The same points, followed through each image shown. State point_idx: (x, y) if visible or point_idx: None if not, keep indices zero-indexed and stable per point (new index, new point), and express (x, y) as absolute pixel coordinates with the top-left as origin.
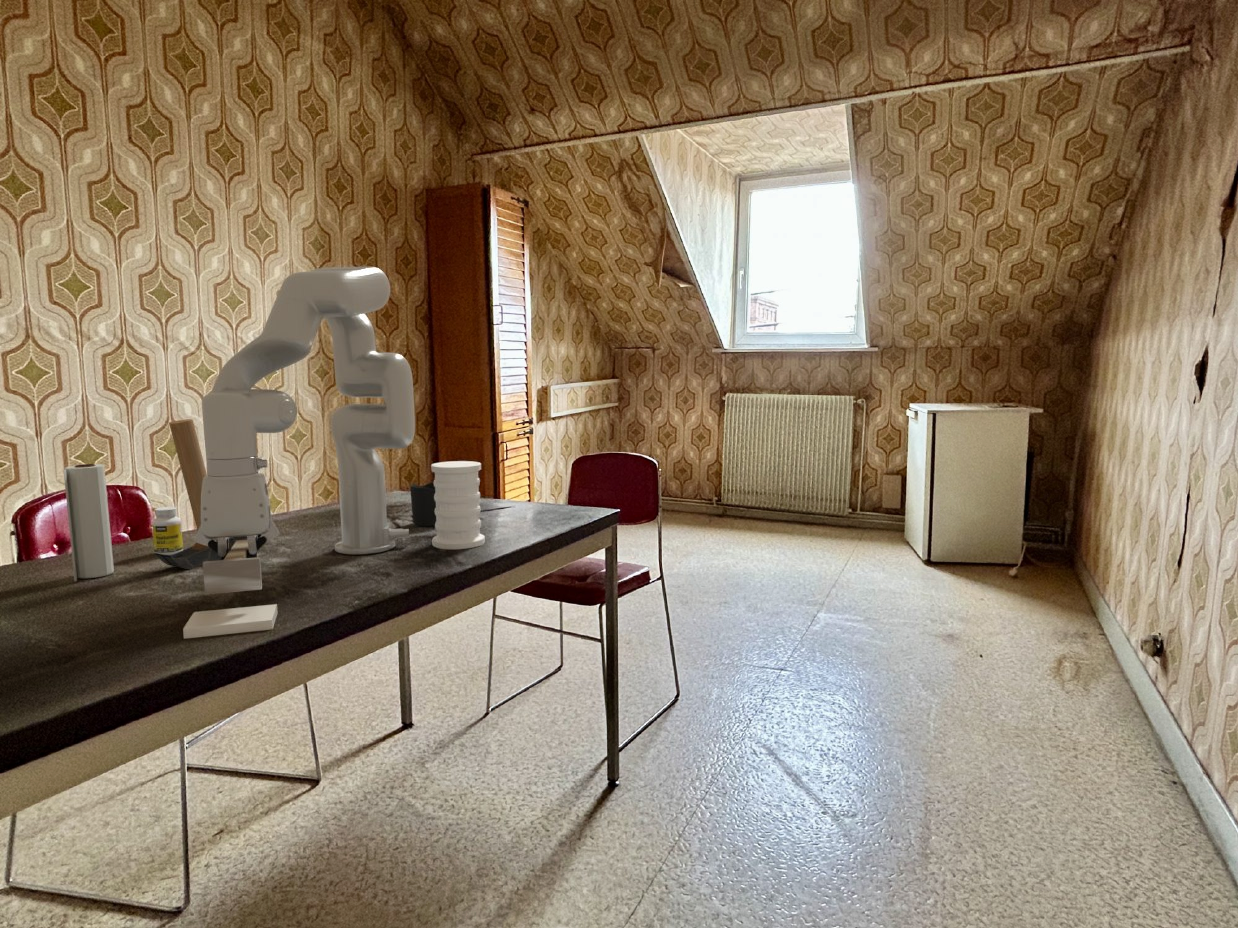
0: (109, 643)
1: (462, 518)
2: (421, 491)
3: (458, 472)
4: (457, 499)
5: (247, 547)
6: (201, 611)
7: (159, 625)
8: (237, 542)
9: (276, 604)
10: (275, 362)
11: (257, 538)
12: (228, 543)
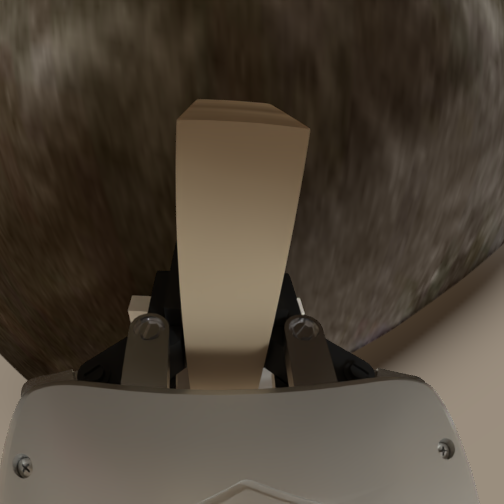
0: (50, 341)
1: None
2: None
3: None
4: None
5: (267, 344)
6: (143, 312)
7: (74, 294)
8: (194, 205)
9: (303, 314)
10: None
11: (330, 371)
12: (168, 360)
